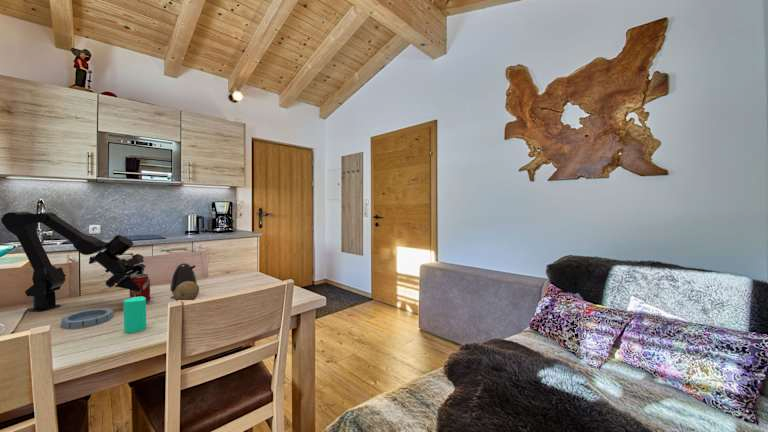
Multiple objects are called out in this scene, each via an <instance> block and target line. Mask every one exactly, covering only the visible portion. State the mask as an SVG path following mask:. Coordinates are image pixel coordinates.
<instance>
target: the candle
mask: <svg viewBox="0 0 768 432" xmlns="http://www.w3.org/2000/svg"><path fill="white" fill-rule="evenodd" d="M146 328H147V303H146V298H145V297H143V296H141V297H133V298H130V297H129V298H127V299H124V300H123V332H124V333H126V334H129V333H130V334H131V333H137V332H141V331H143V330H145V329H146Z"/></svg>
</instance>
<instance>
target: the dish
mask: <svg viewBox="0 0 768 432" xmlns="http://www.w3.org/2000/svg"><path fill="white" fill-rule="evenodd" d="M113 313H114V312H113V310H112V309H111V308H106V307H105V308H104V307H102V308H93V309H85V310H80V311H77V312H73V313H70V314H67V315H65V316H63V317H61V319H60V324H61V325H60V327H61V328H62V329H68V330H73V329H82V328H89V327H93V326H97V325H101V324H103V323H106V322H107V321H110V320H112V319H113V318H114V317H113V316H114V314H113Z"/></svg>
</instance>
